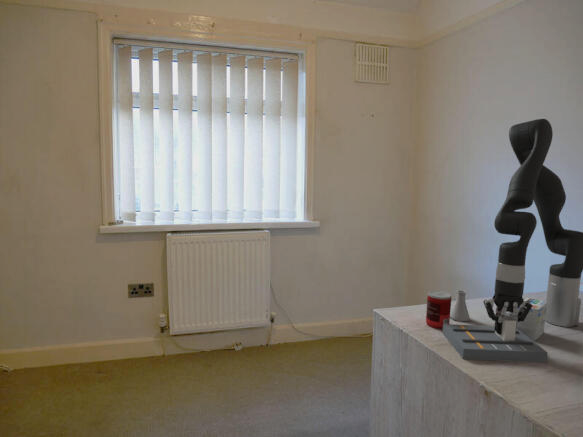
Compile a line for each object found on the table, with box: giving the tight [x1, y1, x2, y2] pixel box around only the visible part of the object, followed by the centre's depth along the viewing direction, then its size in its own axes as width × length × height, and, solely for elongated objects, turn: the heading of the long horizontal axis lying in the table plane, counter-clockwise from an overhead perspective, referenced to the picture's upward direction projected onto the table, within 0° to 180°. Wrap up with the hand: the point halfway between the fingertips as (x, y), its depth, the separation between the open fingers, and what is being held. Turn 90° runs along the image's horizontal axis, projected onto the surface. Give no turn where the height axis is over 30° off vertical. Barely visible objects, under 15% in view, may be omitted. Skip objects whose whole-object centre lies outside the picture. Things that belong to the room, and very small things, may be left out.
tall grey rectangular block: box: [495, 312, 517, 341], centre depth 121 cm, size 3×6×7 cm, turn 177°
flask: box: [450, 289, 471, 322], centre depth 144 cm, size 7×7×10 cm
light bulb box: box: [516, 297, 547, 342], centre depth 131 cm, size 11×7×11 cm, turn 135°
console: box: [441, 323, 548, 364], centre depth 122 cm, size 23×18×4 cm
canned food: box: [425, 290, 452, 330], centre depth 138 cm, size 8×8×11 cm
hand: (504, 333), depth 121 cm, fingers closed on tall grey rectangular block, 3 cm apart
